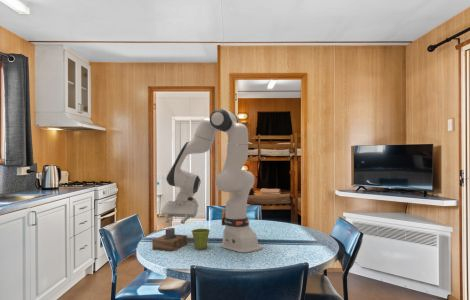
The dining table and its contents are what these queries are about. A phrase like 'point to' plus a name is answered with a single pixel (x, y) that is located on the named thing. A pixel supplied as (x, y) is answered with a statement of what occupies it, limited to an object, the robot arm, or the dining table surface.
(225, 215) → the ammunition clip
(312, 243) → the dining table surface
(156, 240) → the brown wooden box
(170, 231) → the servo
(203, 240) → the plant pot
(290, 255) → the dining table surface
